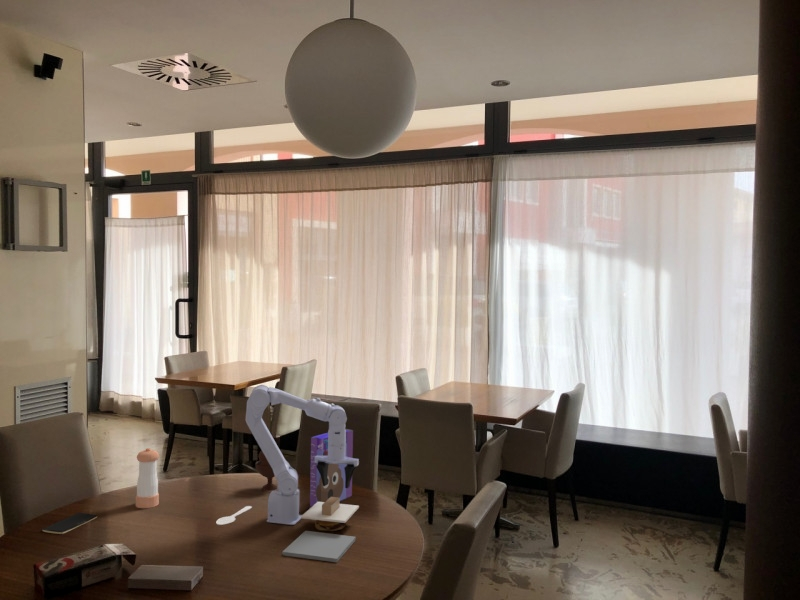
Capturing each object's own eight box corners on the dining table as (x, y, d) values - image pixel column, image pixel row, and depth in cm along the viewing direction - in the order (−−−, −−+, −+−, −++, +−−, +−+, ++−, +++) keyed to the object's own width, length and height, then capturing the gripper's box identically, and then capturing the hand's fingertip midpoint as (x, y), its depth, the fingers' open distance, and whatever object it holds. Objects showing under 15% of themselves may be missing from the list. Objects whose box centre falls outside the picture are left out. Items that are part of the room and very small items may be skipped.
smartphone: (98, 514, 198) (61, 531, 184) (98, 518, 198) (61, 535, 184) (78, 512, 200) (41, 529, 186) (78, 515, 200) (41, 532, 186)
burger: (309, 525, 195) (310, 510, 195) (335, 519, 201) (336, 505, 201) (324, 535, 187) (325, 520, 187) (351, 529, 193) (351, 514, 192)
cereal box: (320, 510, 209) (322, 438, 209) (309, 507, 211) (311, 436, 211) (351, 496, 224) (353, 429, 223) (341, 493, 226) (342, 427, 226)
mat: (282, 555, 172) (282, 551, 172) (305, 533, 188) (305, 530, 188) (336, 562, 168) (337, 558, 168) (355, 540, 184) (355, 536, 184)
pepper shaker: (163, 503, 212) (164, 447, 212) (144, 509, 206) (145, 452, 205) (149, 499, 216) (150, 444, 216) (130, 505, 210) (131, 448, 209)
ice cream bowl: (278, 493, 225) (279, 452, 225) (249, 491, 227) (250, 450, 227) (289, 485, 235) (290, 445, 235) (261, 482, 237) (262, 443, 237)
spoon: (257, 508, 210) (257, 506, 210) (225, 526, 193) (225, 525, 193) (243, 506, 212) (243, 504, 212) (211, 524, 195) (211, 522, 195)
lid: (301, 518, 189) (301, 506, 189) (317, 503, 202) (317, 492, 202) (345, 522, 185) (345, 510, 185) (358, 507, 199) (359, 496, 199)
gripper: (311, 445, 199) (310, 487, 199) (354, 448, 195) (353, 492, 195) (319, 440, 206) (318, 481, 206) (361, 443, 202) (360, 485, 202)
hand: (336, 486), depth 201 cm, fingers open, 7 cm apart
